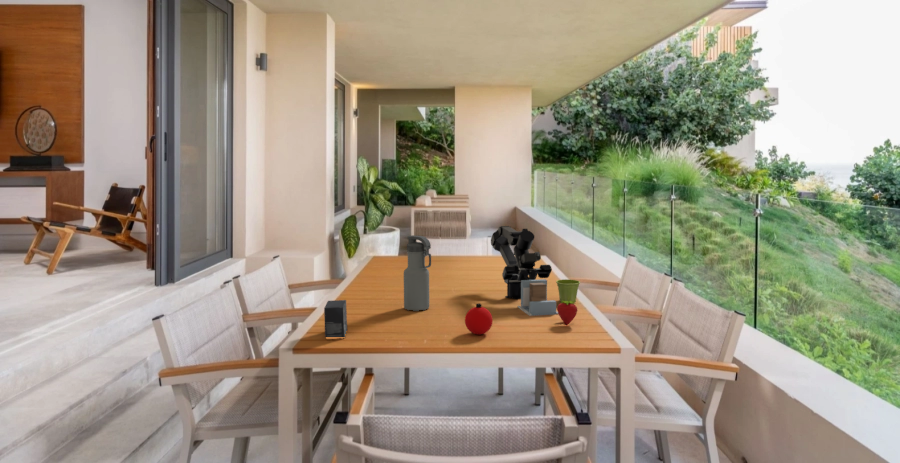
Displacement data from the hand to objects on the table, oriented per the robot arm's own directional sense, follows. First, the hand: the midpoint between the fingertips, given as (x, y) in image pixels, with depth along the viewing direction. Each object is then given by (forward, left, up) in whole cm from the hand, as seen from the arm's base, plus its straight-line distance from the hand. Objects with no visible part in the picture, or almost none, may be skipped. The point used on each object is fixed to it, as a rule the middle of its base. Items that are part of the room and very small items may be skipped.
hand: (531, 290), depth 235 cm
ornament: (+5, -42, -7) cm, 43 cm away
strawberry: (+22, -14, -7) cm, 27 cm away
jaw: (+2, -2, -6) cm, 6 cm away
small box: (-31, -71, -7) cm, 78 cm away
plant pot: (+6, +17, -7) cm, 20 cm away
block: (+5, -4, -6) cm, 9 cm away
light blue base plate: (+5, -4, -7) cm, 10 cm away
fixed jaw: (+9, -8, -7) cm, 14 cm away
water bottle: (-35, -27, -7) cm, 44 cm away
